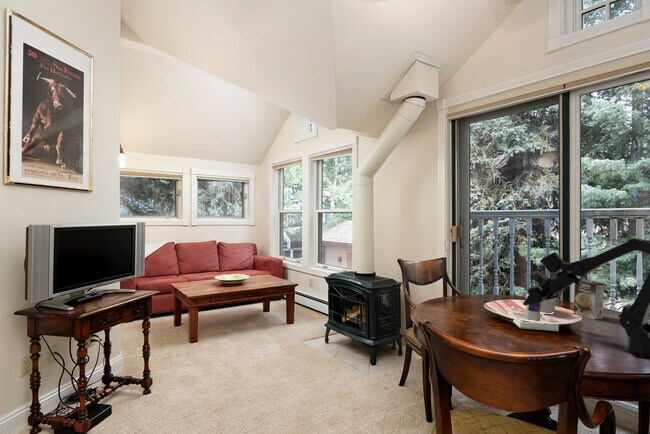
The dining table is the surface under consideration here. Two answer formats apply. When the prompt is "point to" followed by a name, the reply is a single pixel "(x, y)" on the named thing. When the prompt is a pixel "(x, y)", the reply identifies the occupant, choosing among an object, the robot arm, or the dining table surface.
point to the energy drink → (533, 311)
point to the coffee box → (589, 299)
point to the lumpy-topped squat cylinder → (548, 306)
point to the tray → (534, 323)
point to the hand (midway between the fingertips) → (529, 302)
